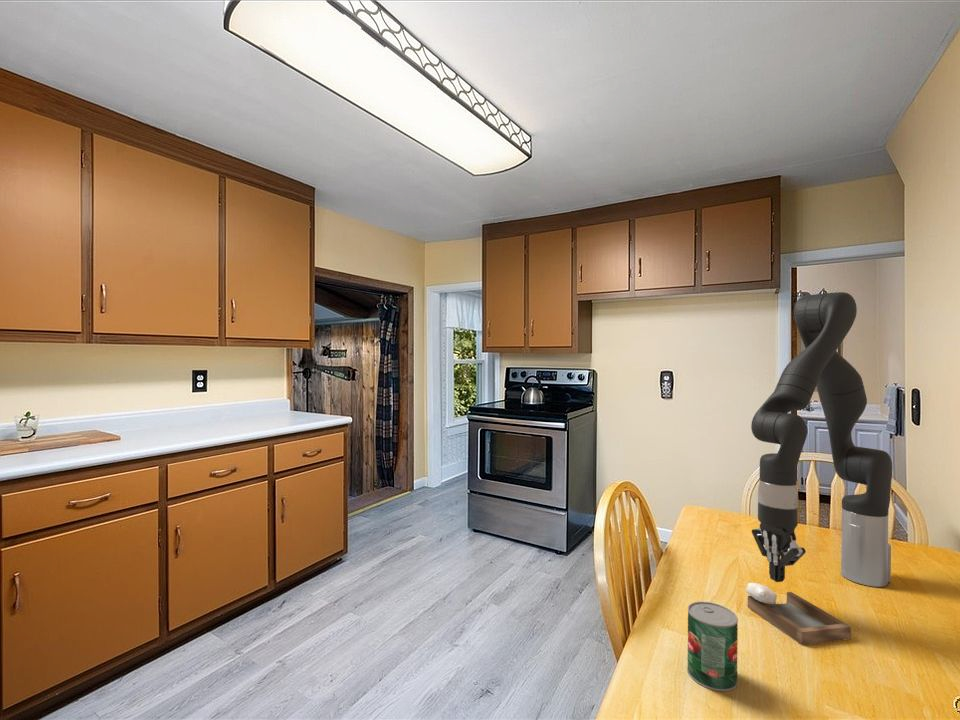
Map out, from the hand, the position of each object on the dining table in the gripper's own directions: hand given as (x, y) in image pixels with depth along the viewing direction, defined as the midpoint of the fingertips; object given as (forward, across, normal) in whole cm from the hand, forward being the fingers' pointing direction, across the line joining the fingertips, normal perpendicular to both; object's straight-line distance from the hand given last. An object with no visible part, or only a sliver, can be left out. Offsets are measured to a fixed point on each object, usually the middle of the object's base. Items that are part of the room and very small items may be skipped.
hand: (776, 580), depth 105 cm
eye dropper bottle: (+5, +4, 0) cm, 6 cm away
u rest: (+6, -4, 0) cm, 8 cm away
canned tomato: (+7, -17, +29) cm, 34 cm away
